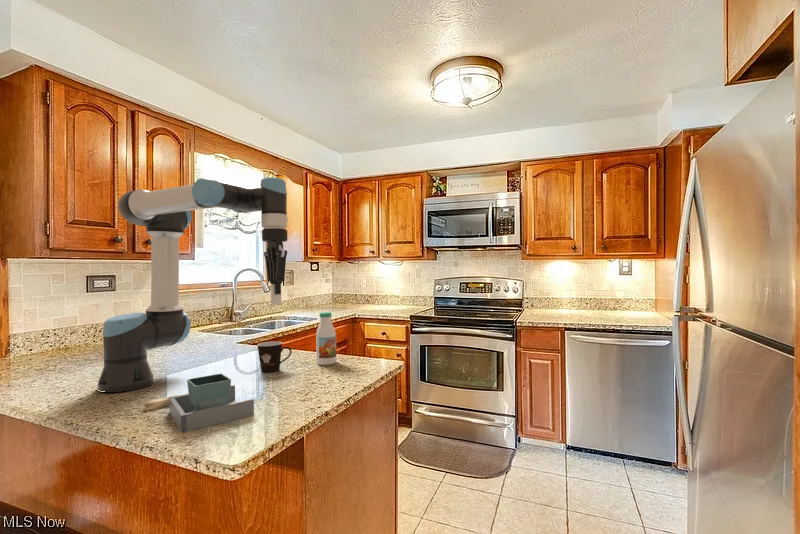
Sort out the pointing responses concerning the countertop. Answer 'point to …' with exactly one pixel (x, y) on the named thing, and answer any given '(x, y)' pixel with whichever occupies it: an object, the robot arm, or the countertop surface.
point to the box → (207, 412)
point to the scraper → (158, 403)
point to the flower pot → (209, 391)
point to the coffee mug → (271, 356)
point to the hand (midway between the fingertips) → (276, 304)
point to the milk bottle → (326, 340)
